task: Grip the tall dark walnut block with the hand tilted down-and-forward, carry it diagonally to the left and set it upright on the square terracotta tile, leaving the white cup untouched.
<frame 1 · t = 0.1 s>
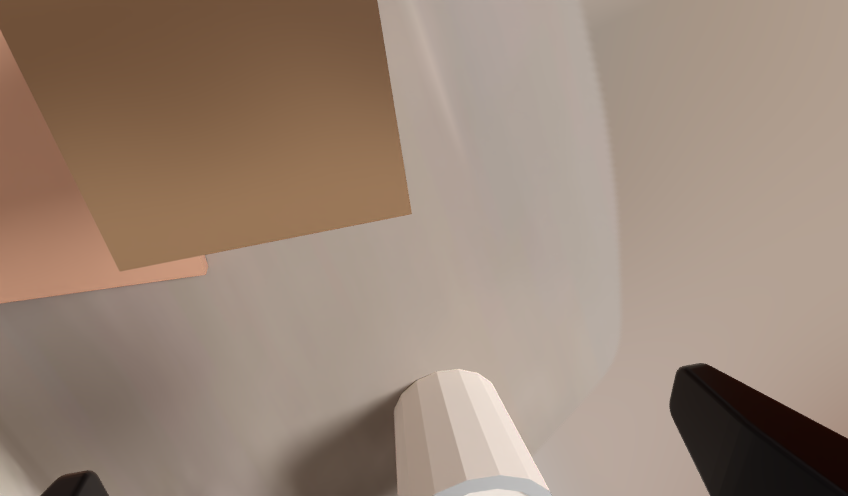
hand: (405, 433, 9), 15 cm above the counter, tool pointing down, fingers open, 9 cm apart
white cup: (445, 407, 29), on the counter
terracotta tile: (5, 155, 19), on the counter
walnut block: (273, 5, 19), on the counter
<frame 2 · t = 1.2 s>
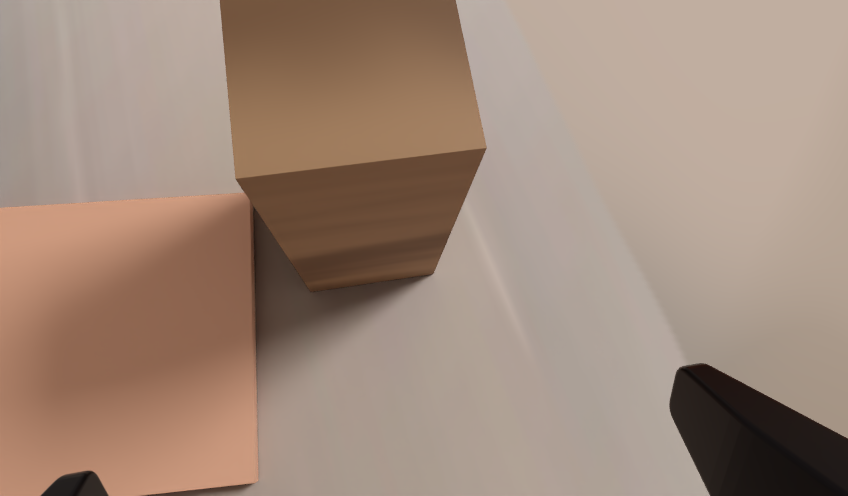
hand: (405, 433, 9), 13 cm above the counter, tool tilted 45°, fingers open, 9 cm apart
terracotta tile: (108, 342, 21), on the counter
walnut block: (364, 224, 23), on the counter
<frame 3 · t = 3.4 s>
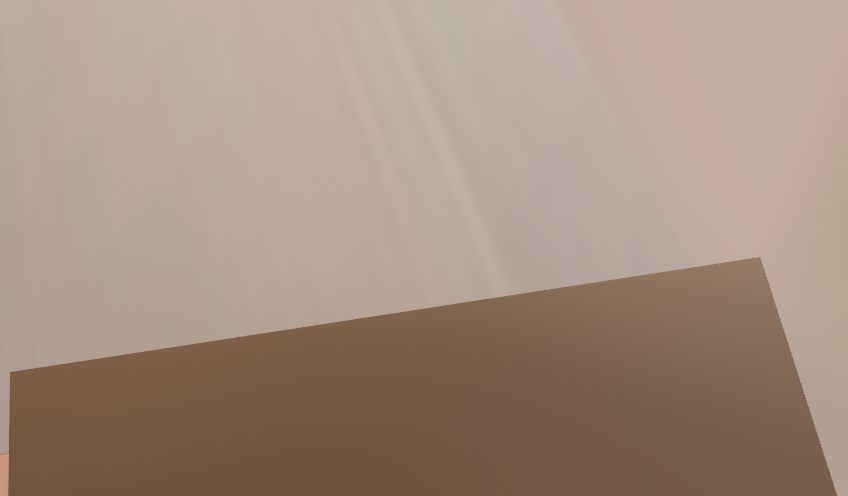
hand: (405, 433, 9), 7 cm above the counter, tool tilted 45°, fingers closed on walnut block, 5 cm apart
walnut block: (402, 472, 15), on the counter, touching gripper
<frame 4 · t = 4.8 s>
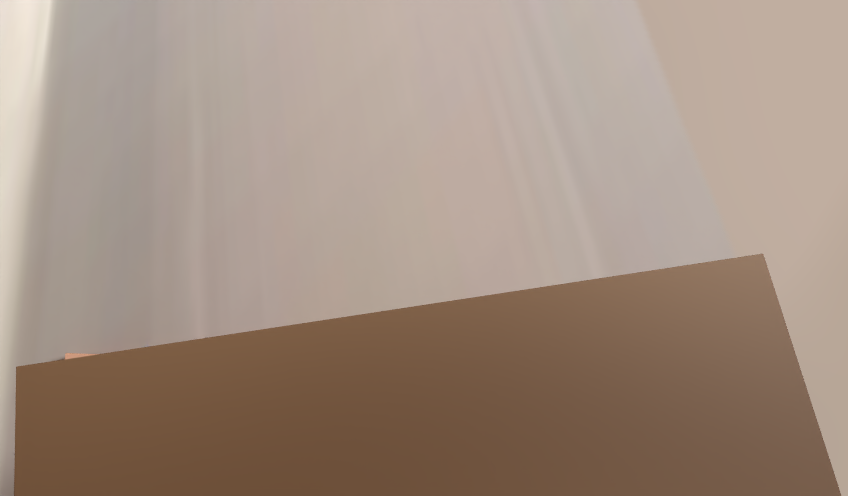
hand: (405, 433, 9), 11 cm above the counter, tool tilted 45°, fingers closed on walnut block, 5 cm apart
walnut block: (403, 471, 15), point 5 cm above the counter, touching gripper
when the fingers open (8 cm above the counter, at t = 6.4 s): walnut block stays where it is, resting on terracotta tile.
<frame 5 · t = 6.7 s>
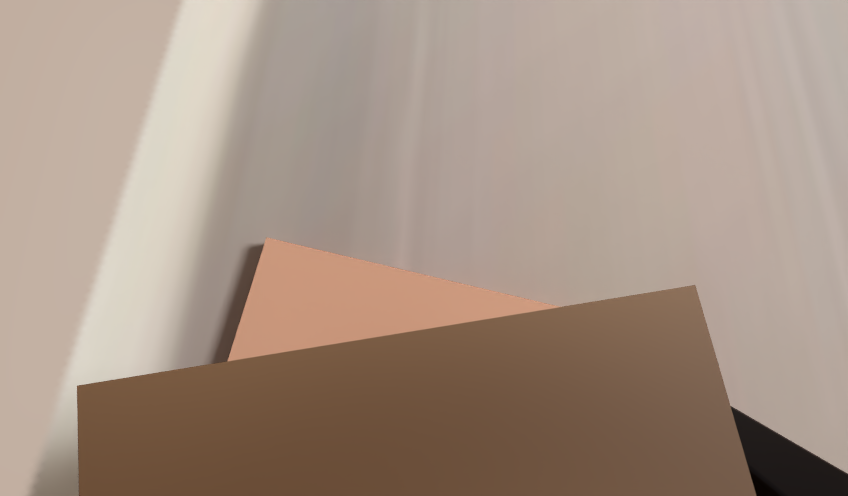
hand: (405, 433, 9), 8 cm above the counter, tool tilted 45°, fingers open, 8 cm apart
terracotta tile: (401, 465, 16), on the counter
walnut block: (400, 468, 15), point 1 cm above the counter, touching terracotta tile
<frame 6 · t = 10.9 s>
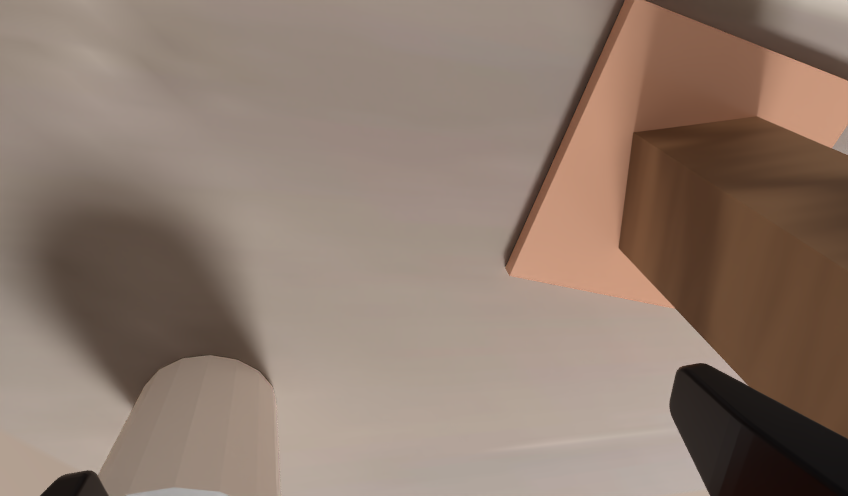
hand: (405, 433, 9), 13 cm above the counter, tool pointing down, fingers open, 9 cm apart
white cup: (211, 401, 25), on the counter
terracotta tile: (676, 180, 23), on the counter
walnut block: (684, 185, 22), point 1 cm above the counter, touching terracotta tile
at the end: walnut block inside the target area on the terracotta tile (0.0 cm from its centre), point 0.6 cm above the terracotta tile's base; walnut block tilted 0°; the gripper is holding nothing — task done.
